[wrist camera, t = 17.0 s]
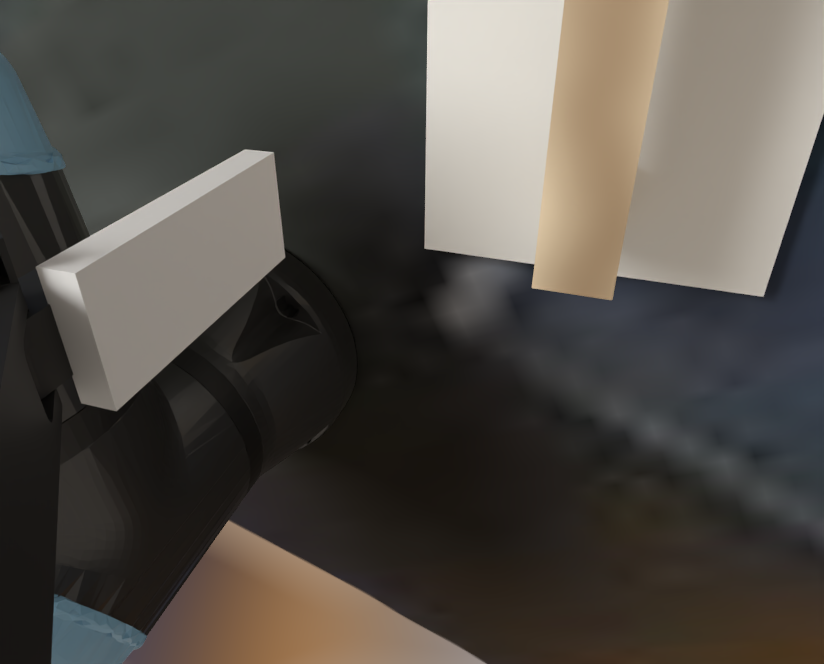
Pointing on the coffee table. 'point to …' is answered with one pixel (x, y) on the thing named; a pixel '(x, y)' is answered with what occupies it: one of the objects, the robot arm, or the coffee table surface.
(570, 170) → the beige piece
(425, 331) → the coffee table surface
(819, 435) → the coffee table surface
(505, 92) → the rest board
